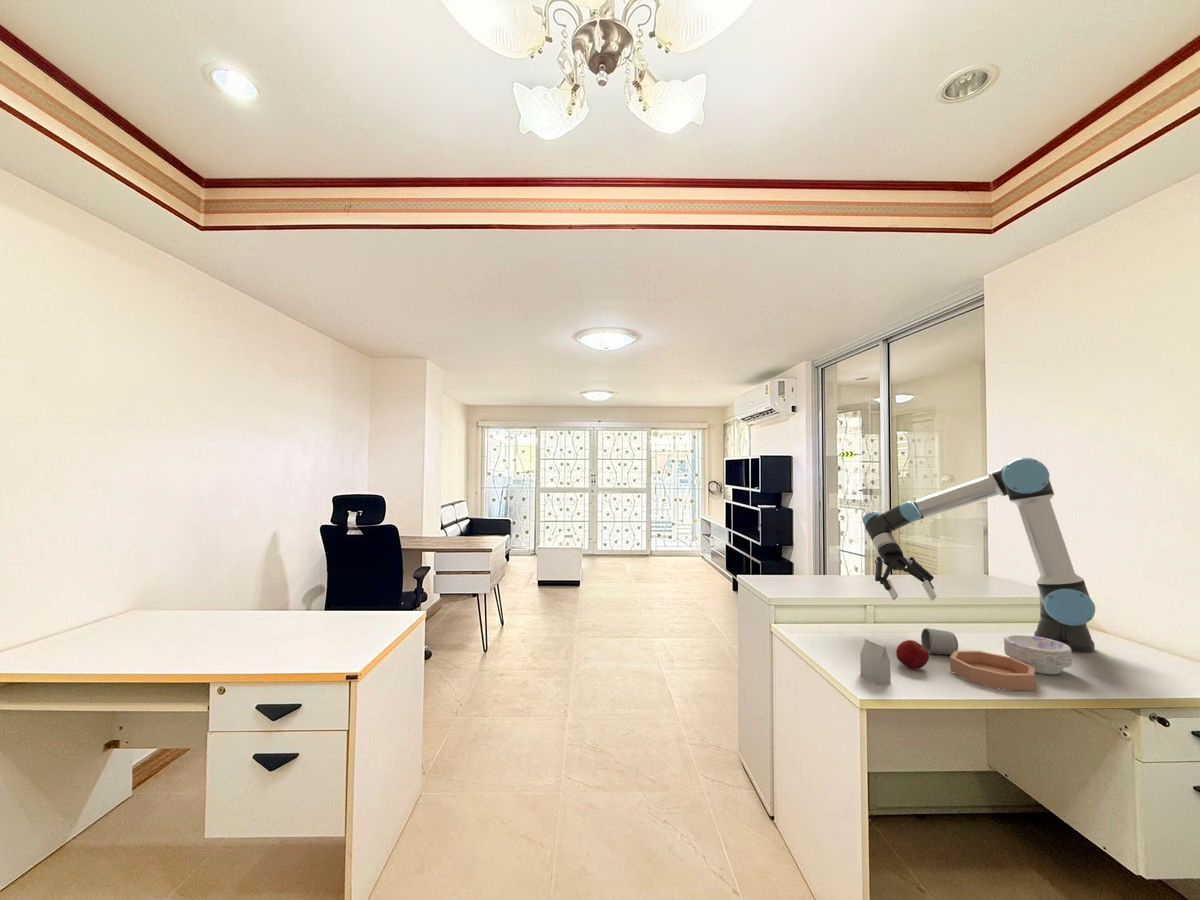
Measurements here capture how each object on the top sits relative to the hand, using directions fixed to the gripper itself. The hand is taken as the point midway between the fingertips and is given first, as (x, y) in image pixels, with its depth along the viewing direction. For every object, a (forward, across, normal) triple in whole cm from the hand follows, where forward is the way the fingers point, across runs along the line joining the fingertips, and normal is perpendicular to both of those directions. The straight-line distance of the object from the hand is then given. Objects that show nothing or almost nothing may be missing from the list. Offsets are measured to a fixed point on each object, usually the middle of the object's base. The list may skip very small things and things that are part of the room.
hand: (914, 598), depth 171 cm
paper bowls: (+27, -21, +6) cm, 35 cm away
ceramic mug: (+18, 0, -4) cm, 18 cm away
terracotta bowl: (+31, -2, +10) cm, 33 cm away
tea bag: (+33, +33, +12) cm, 48 cm away
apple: (+27, +17, +6) cm, 33 cm away
